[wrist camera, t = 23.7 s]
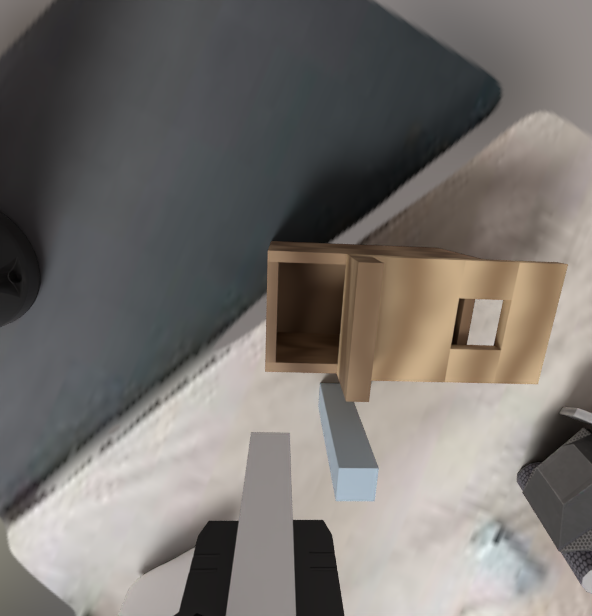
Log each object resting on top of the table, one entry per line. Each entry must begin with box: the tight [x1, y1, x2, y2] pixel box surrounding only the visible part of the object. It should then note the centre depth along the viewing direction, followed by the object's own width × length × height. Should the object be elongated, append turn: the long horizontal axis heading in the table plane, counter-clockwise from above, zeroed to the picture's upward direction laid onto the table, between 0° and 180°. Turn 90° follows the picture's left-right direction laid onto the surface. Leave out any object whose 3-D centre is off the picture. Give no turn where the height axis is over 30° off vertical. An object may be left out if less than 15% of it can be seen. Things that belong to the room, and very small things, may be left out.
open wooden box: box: [265, 241, 480, 373], centre depth 39 cm, size 20×12×10 cm, turn 87°
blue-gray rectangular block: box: [319, 383, 379, 501], centre depth 40 cm, size 4×4×16 cm
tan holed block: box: [337, 254, 568, 402], centre depth 32 cm, size 20×12×5 cm, turn 87°
